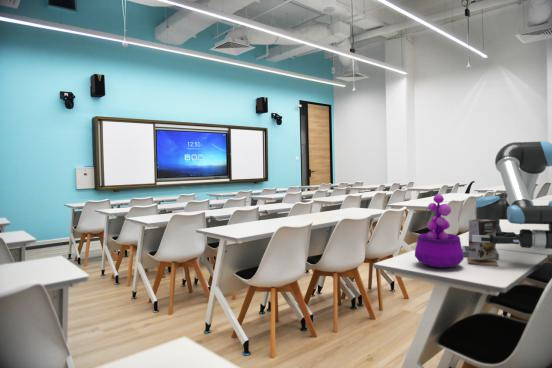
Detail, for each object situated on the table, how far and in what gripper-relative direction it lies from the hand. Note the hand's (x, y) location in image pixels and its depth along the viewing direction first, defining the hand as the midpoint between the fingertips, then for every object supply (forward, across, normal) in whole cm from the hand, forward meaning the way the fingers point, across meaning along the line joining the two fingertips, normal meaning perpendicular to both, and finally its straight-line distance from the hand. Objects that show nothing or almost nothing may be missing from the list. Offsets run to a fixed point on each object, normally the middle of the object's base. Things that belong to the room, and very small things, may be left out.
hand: (471, 235), depth 172 cm
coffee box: (-4, 0, -9) cm, 10 cm away
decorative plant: (+13, -12, -11) cm, 21 cm away
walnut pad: (-4, 0, -11) cm, 12 cm away
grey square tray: (-4, +14, -11) cm, 18 cm away
